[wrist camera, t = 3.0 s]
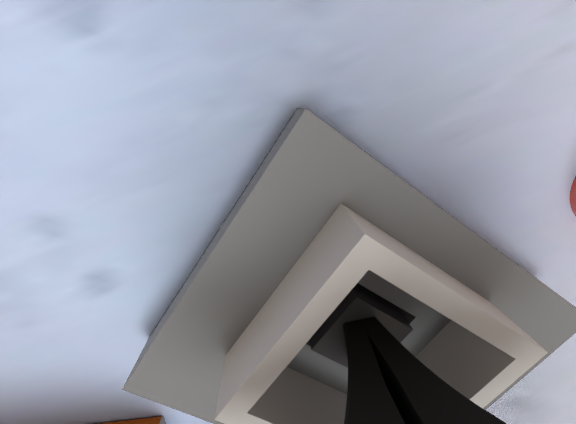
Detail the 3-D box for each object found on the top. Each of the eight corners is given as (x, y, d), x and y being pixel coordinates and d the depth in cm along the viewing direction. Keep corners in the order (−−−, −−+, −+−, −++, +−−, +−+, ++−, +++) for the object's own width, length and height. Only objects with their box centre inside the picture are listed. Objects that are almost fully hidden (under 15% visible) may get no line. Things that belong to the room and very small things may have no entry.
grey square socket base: (533, 281, 16) (670, 370, 10) (373, 434, 19) (414, 559, 14) (297, 108, 12) (321, 108, 7) (148, 338, 15) (85, 460, 10)
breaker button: (381, 281, 15) (412, 329, 12) (346, 321, 16) (366, 377, 12) (336, 253, 14) (356, 297, 11) (301, 297, 15) (311, 350, 12)
